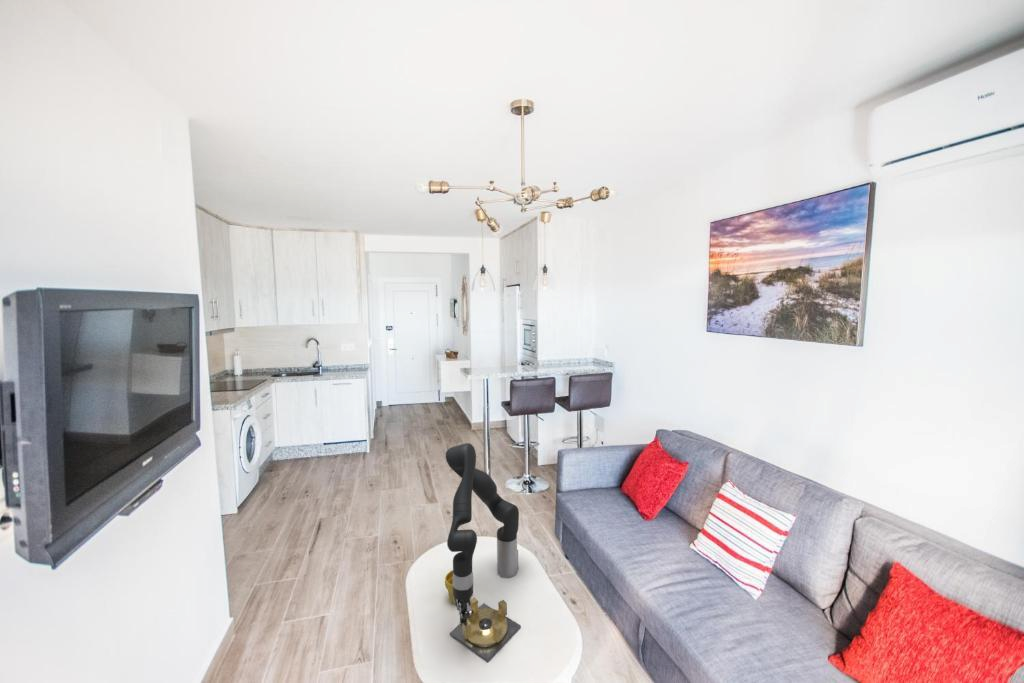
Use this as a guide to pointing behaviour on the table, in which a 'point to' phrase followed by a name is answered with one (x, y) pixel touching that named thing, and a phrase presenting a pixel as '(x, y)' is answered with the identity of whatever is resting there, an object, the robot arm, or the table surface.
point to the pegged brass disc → (485, 624)
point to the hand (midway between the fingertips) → (463, 624)
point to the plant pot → (450, 585)
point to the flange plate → (489, 651)
